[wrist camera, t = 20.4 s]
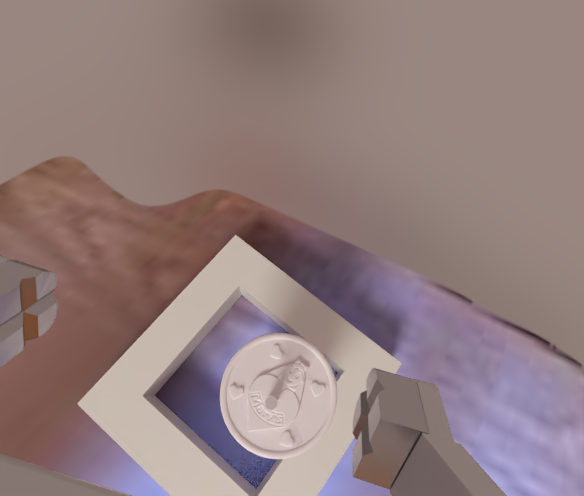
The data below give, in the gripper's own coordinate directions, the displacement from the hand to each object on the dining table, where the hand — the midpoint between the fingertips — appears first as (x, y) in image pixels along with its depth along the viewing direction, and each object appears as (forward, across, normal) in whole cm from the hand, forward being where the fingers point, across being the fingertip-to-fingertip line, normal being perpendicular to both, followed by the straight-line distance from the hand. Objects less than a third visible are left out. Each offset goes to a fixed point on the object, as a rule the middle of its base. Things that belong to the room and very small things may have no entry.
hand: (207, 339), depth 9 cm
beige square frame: (+15, 0, +16) cm, 21 cm away
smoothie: (+15, -3, +16) cm, 22 cm away
